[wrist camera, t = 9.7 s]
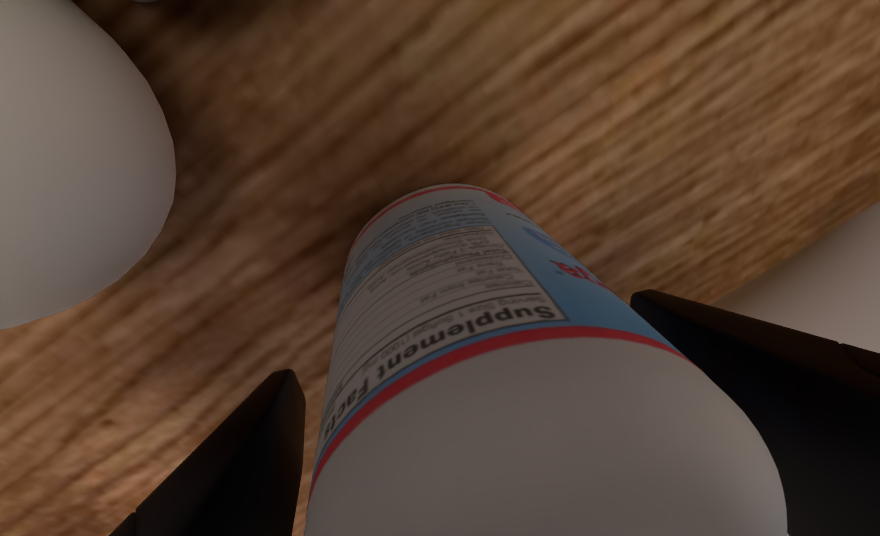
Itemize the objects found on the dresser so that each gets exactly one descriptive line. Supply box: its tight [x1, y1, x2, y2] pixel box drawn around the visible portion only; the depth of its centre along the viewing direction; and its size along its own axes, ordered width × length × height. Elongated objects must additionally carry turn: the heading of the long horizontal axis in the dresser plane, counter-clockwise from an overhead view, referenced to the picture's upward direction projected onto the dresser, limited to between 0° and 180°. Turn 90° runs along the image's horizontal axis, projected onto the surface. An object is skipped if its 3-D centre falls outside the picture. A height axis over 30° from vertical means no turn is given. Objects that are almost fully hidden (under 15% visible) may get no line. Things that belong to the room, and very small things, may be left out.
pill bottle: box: [304, 183, 787, 536], centre depth 7 cm, size 6×6×11 cm
